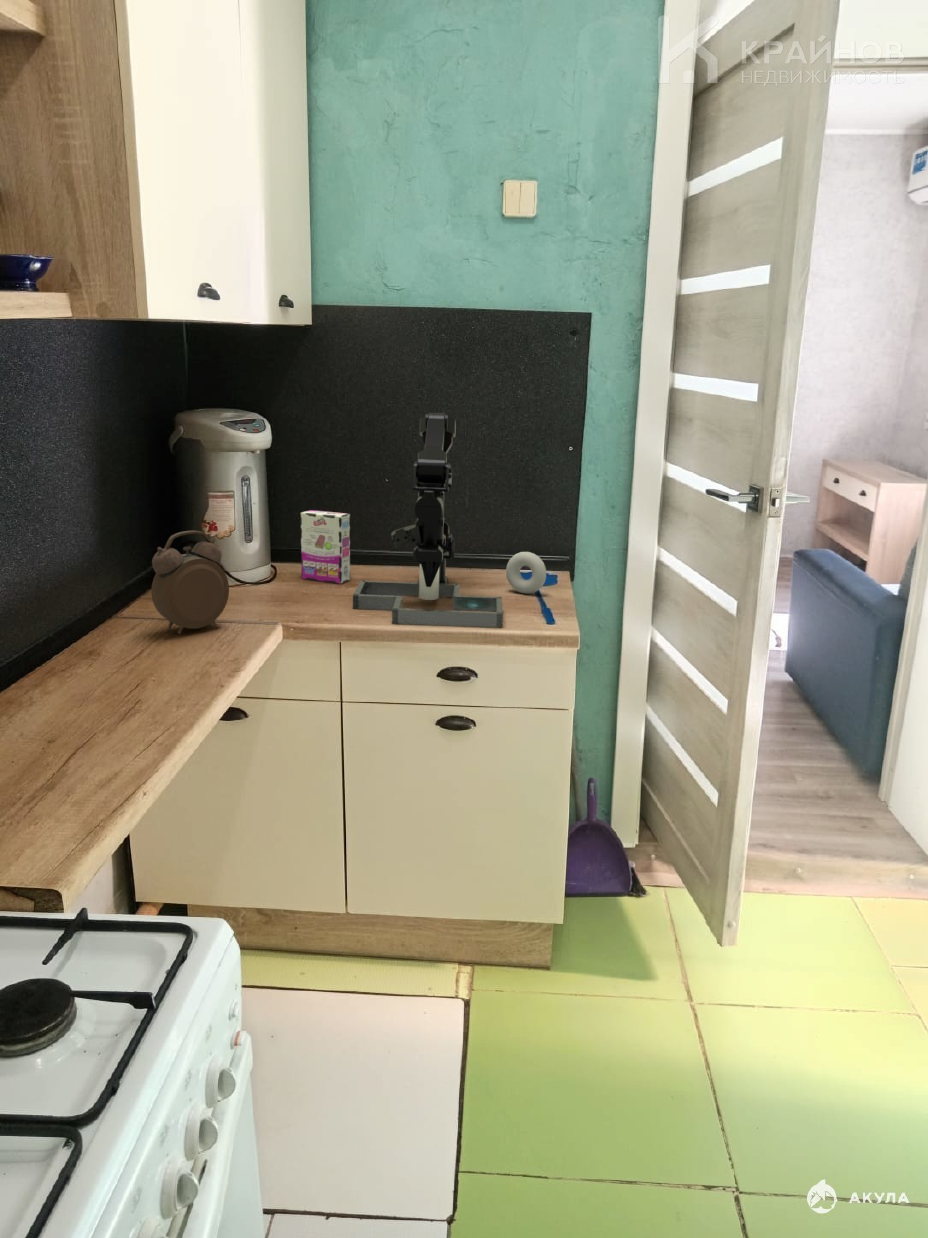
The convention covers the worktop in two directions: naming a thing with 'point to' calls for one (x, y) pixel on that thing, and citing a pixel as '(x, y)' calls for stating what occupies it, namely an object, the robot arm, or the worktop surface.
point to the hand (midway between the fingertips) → (429, 584)
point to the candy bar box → (325, 546)
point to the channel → (391, 596)
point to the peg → (428, 592)
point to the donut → (536, 568)
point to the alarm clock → (189, 583)
